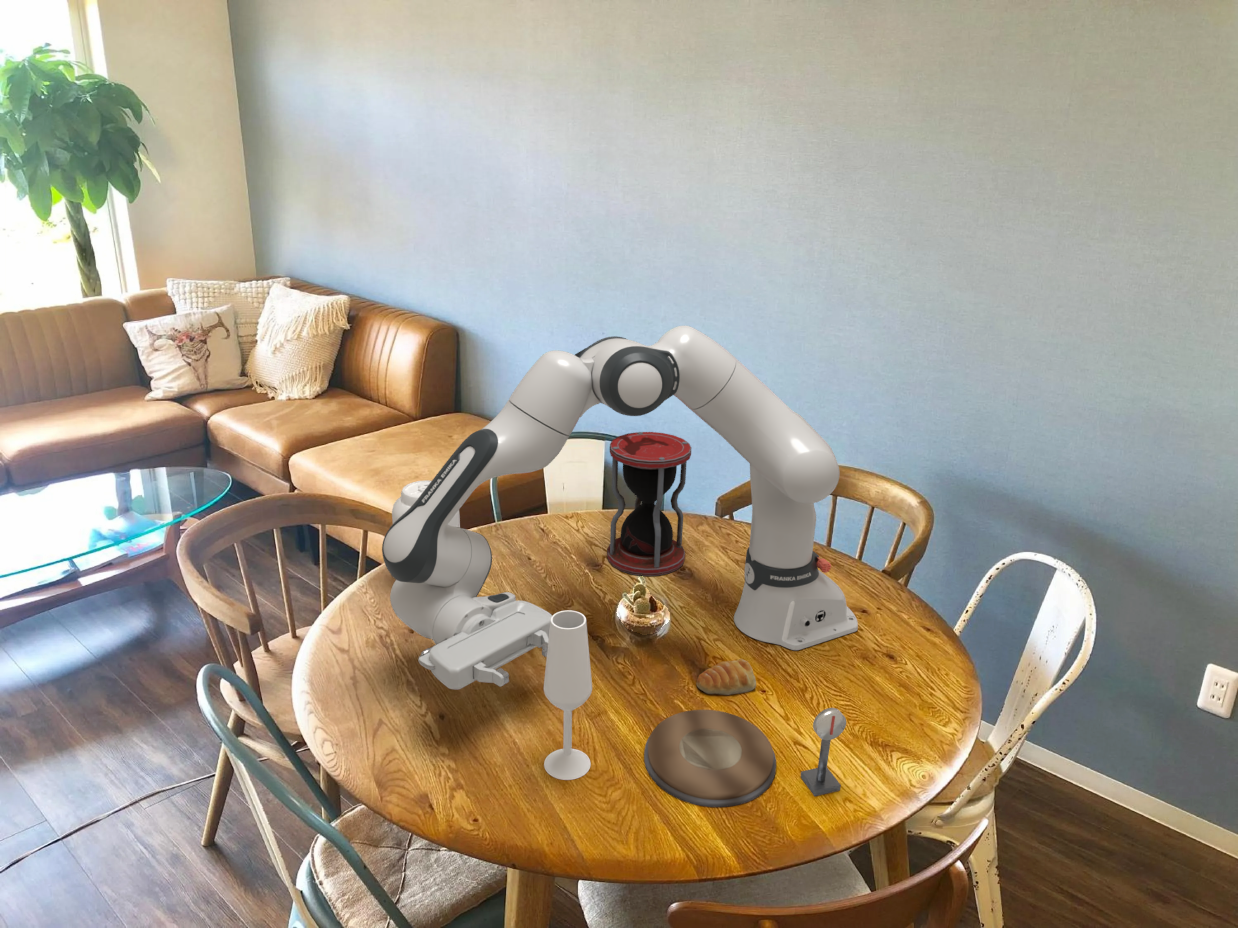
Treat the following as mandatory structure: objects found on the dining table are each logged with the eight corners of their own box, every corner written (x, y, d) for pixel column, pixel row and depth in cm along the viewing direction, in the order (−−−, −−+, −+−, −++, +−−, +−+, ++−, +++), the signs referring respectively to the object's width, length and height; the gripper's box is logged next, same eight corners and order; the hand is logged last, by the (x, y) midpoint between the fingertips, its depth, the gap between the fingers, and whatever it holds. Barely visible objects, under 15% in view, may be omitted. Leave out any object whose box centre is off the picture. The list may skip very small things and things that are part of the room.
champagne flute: (535, 771, 130) (534, 625, 121) (557, 742, 136) (557, 602, 127) (578, 785, 128) (579, 638, 119) (598, 756, 134) (601, 613, 124)
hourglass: (670, 536, 200) (676, 428, 190) (695, 572, 185) (703, 457, 176) (598, 544, 196) (600, 433, 186) (618, 580, 181) (622, 463, 172)
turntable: (741, 708, 145) (742, 698, 144) (799, 790, 128) (801, 779, 127) (626, 730, 139) (627, 719, 138) (672, 819, 122) (673, 807, 122)
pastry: (707, 703, 146) (708, 683, 145) (689, 679, 152) (690, 660, 151) (759, 691, 149) (760, 671, 148) (739, 669, 155) (741, 649, 154)
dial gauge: (826, 771, 132) (836, 697, 127) (841, 790, 128) (852, 715, 124) (799, 777, 131) (808, 703, 126) (813, 796, 127) (823, 721, 122)
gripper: (410, 639, 132) (472, 678, 124) (516, 587, 146) (579, 620, 138) (413, 675, 134) (474, 717, 126) (517, 621, 149) (578, 655, 140)
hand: (530, 666), depth 132 cm, fingers open, 8 cm apart
